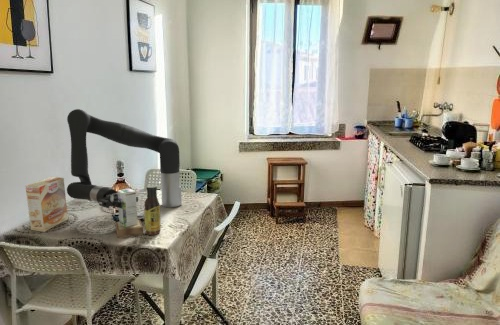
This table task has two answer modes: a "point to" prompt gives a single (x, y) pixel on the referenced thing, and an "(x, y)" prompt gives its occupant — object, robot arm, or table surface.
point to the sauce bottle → (152, 211)
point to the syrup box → (127, 207)
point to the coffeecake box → (46, 203)
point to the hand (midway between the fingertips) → (129, 202)
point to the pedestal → (129, 229)
